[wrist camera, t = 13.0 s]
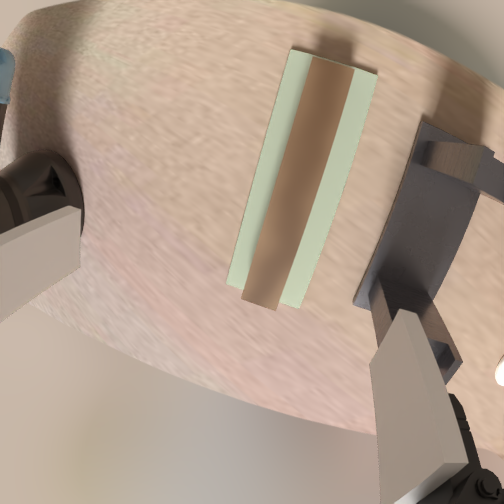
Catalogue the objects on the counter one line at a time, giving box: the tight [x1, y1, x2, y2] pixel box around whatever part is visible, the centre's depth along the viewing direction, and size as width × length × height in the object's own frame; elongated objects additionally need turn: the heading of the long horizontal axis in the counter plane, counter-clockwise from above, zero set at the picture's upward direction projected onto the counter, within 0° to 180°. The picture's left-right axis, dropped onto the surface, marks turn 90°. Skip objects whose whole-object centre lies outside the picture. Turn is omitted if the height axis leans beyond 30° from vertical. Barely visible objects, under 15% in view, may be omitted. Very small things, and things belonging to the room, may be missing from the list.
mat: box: [226, 49, 378, 309], centre depth 28 cm, size 8×24×1 cm, turn 165°
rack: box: [353, 121, 504, 385], centre depth 22 cm, size 8×19×12 cm, turn 165°
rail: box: [241, 56, 355, 311], centre depth 27 cm, size 3×22×3 cm, turn 165°
